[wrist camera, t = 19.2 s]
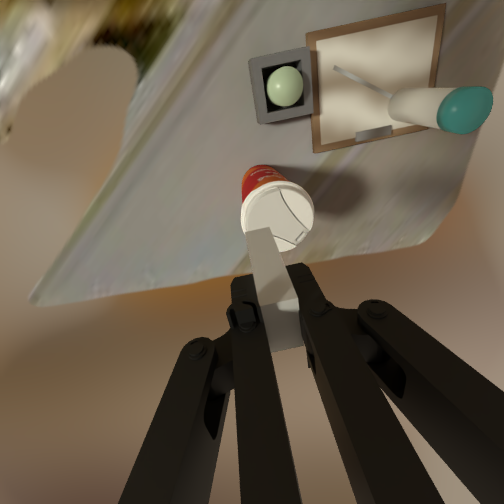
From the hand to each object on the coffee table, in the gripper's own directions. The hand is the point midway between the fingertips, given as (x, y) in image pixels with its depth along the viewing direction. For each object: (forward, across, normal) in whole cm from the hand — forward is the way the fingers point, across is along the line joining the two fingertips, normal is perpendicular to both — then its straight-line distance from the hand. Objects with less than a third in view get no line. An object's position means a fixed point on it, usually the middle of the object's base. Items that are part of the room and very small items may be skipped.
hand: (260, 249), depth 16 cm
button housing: (+26, +8, +8) cm, 29 cm away
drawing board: (+26, +20, +6) cm, 34 cm away
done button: (+26, +8, +8) cm, 28 cm away
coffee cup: (+27, +3, -4) cm, 27 cm away
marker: (+25, +24, +3) cm, 35 cm away
